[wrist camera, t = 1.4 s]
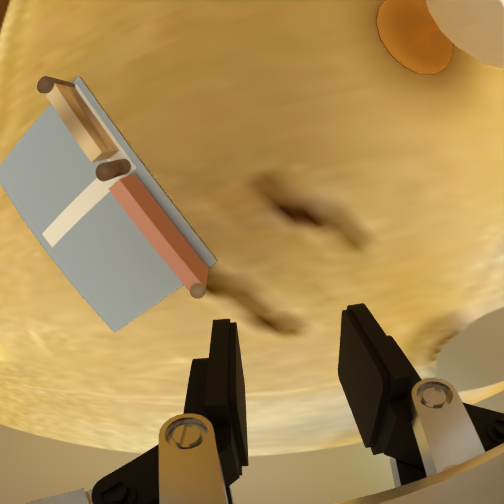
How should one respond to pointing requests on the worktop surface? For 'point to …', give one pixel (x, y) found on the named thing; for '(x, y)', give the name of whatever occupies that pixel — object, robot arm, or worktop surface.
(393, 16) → the cup
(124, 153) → the card
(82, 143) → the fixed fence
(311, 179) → the worktop surface
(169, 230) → the bar
